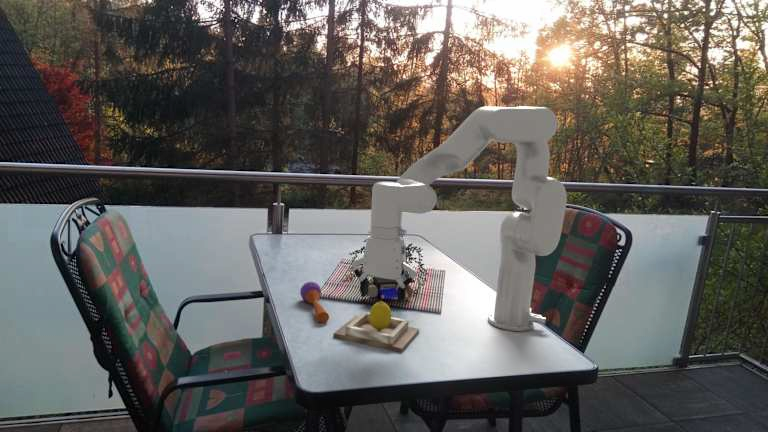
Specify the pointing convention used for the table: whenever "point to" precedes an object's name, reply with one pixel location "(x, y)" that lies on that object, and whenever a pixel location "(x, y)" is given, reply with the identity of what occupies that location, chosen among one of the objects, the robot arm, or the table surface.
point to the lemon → (380, 316)
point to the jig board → (378, 333)
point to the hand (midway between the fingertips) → (382, 298)
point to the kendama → (314, 300)
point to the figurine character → (387, 293)
